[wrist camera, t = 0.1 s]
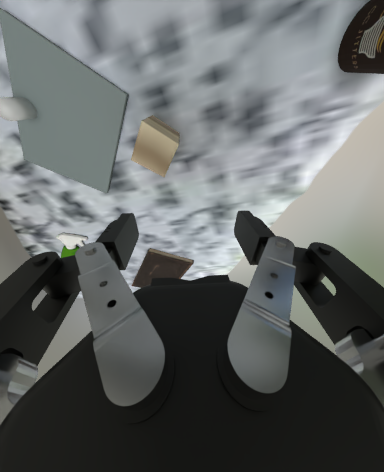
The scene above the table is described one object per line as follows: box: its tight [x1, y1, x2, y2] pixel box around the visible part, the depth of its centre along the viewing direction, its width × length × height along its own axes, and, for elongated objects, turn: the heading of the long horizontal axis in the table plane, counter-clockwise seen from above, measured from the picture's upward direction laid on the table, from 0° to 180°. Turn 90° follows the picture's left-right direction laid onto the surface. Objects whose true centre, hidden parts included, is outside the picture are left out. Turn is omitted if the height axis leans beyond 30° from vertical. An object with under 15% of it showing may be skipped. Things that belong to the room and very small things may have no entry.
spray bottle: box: [56, 233, 88, 258], centre depth 48 cm, size 3×11×24 cm
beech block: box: [131, 115, 180, 177], centre depth 23 cm, size 5×5×9 cm
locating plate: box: [0, 8, 128, 193], centre depth 23 cm, size 18×14×5 cm
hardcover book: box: [132, 248, 194, 288], centre depth 55 cm, size 16×23×2 cm
